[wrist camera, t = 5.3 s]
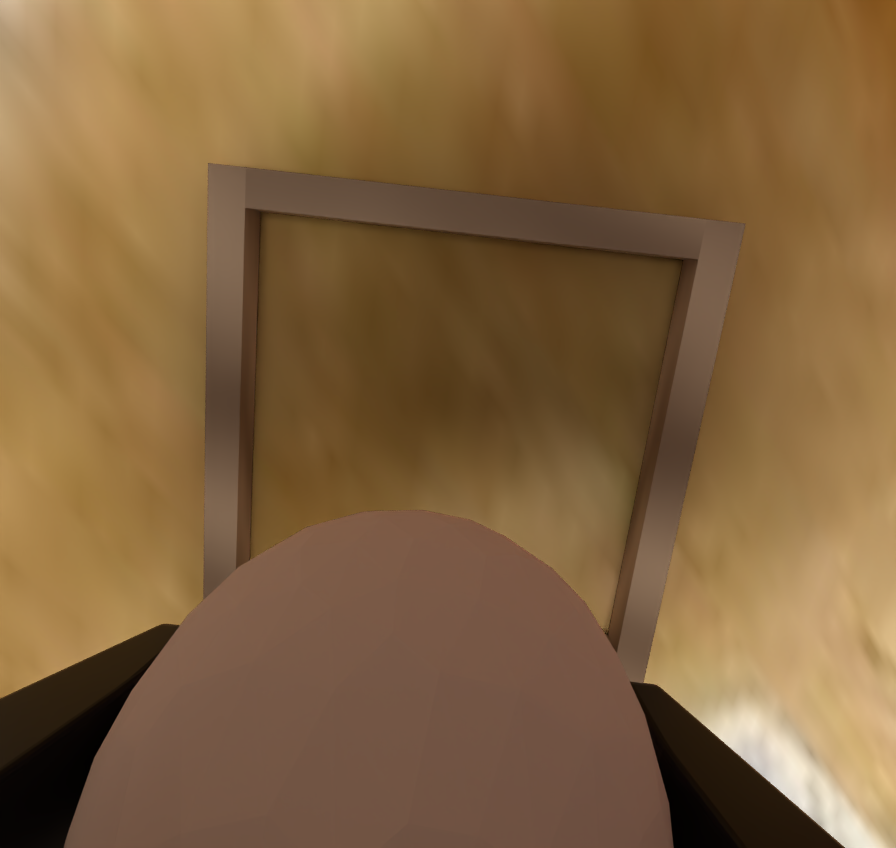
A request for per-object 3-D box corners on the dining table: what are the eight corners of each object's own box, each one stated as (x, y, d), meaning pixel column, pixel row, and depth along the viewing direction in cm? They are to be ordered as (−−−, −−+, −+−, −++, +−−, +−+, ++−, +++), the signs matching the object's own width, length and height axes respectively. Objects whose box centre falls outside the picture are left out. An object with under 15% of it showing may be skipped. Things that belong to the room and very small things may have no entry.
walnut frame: (632, 664, 20) (641, 688, 19) (218, 612, 21) (203, 633, 19) (727, 226, 17) (745, 223, 16) (226, 170, 17) (208, 162, 16)
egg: (386, 799, 10) (197, 1929, 3) (181, 565, 10) (-687, 1444, 2) (657, 645, 10) (1200, 1767, 2) (458, 369, 9) (380, 868, 1)
